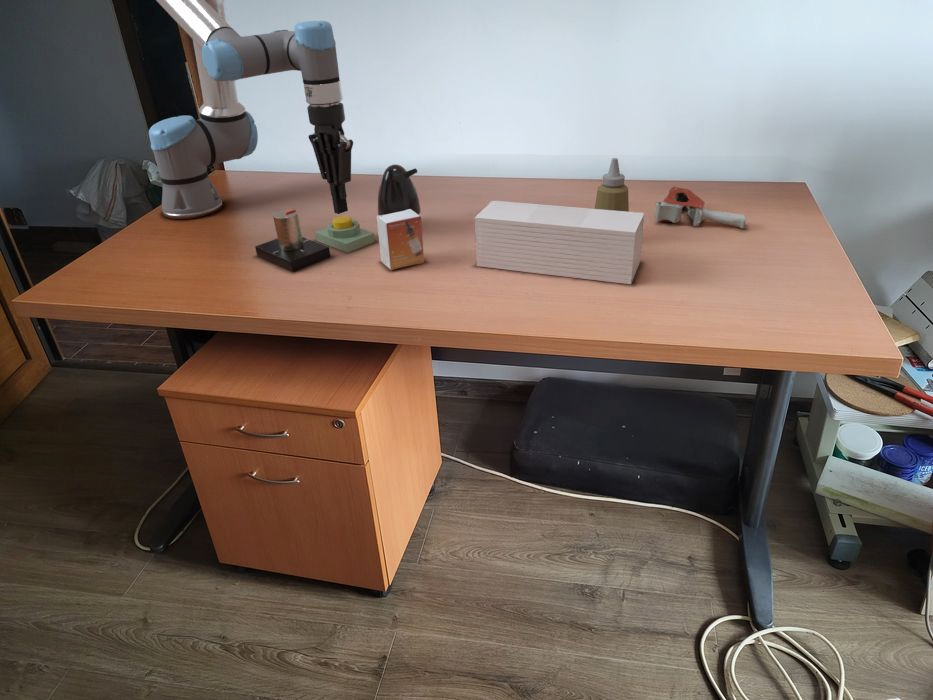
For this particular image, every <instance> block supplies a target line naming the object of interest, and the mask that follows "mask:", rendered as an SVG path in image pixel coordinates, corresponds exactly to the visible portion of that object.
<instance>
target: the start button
mask: <svg viewBox="0 0 933 700" xmlns="http://www.w3.org/2000/svg"><path fill="white" fill-rule="evenodd" d="M352 220H353V218H352V217H351V216H348V215H344V216H343V215H342V216H337V217H334V218H333V219H332V222H333V227H334V228H335V229H346V228H350V227H352V226H353V224H352Z"/></svg>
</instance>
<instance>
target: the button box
mask: <svg viewBox="0 0 933 700" xmlns="http://www.w3.org/2000/svg"><path fill="white" fill-rule="evenodd" d="M352 224H353V226H352V227H350V228H346V229H335V228H334V227H333V221H332V222H329V223H328V224H327V225H326V227H325V228H321V229H318V230H317V231H314V237H315V242H318V243H320V244H323V245H325V246H328V247H332V248H335V249H336V250H340V251H342V252H345V253H347V254H348V253H351V252H353V251H356V250H359V249H361V248H363V247H365V246H366V247H367V246H368V245H371V244H374V243H375V242H376V239H375V233H374V232H372V231H369V230H366V229H363V228H361V227H360V223H359V221H357V220H355V219H352Z"/></svg>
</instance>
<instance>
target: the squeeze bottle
mask: <svg viewBox="0 0 933 700" xmlns="http://www.w3.org/2000/svg"><path fill="white" fill-rule="evenodd" d="M619 164H620V163H619V159H618V158H617V157H612V158H611V162H610V164H609V168H608V173H604V174H603V175H602V180H601V181H602V182H601V184H600V185H599V186H597V191H596V197H595V203H594V209H602V210H614V211H626V212H630V205H629V203H630V202H629V187H628V186H627V185H626V184H625V179H626V178H625V175H624V174H623V173H621V172H620V165H619Z"/></svg>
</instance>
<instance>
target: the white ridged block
mask: <svg viewBox="0 0 933 700" xmlns="http://www.w3.org/2000/svg"><path fill="white" fill-rule="evenodd" d="M474 222H475V223H474V230H475V232H474V234H475V248H476V250H475V252H476V254H475V255H476V256H475V257H476V258H475V259H476V267H480V268H489V269H496V270H497V269H498V270H506V271H507V270H508V271H513V272H514V271H515V272H523V273H530V274H531V273H532V274H540V275H547V276H557V277H565V278H574V279H582V280H583V279H584V280H591V281H598V282H599V281H600V282H609V283H616V284H624V285H632V283H633V280H634V278H635V276H636V273H637V271H638V268H639V266H640V263H641V256H642V255H641V254H642V244H643V234H644V223H645V212H639V211H638V212H637V211H629V212H626V211H614V210H602V209H595V208H591V207H590V208H589V207H575V206H562V205H551V204H541V203H540V204H539V203H529V202H528V203H527V202H518V201H517V202H516V201H515V202H514V201H505V200H491V201H490V202H489V203H487V205H486V206H485V207H484V208H483V209H482V210H481V211H480V212H479V213H478V214H477V215H476V216H475V217H474Z"/></svg>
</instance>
